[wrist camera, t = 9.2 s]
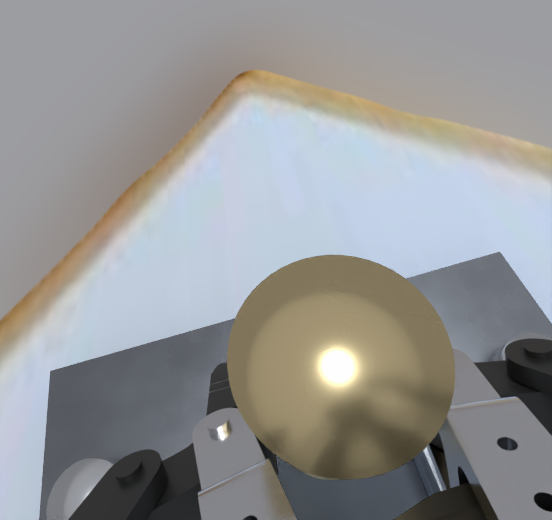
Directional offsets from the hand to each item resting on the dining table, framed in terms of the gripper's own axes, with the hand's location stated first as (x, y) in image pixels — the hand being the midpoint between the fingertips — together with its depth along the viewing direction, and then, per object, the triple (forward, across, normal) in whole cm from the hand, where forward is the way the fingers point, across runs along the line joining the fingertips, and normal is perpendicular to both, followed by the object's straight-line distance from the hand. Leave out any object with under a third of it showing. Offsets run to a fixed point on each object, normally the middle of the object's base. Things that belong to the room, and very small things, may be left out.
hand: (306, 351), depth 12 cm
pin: (+2, 0, +5) cm, 5 cm away
